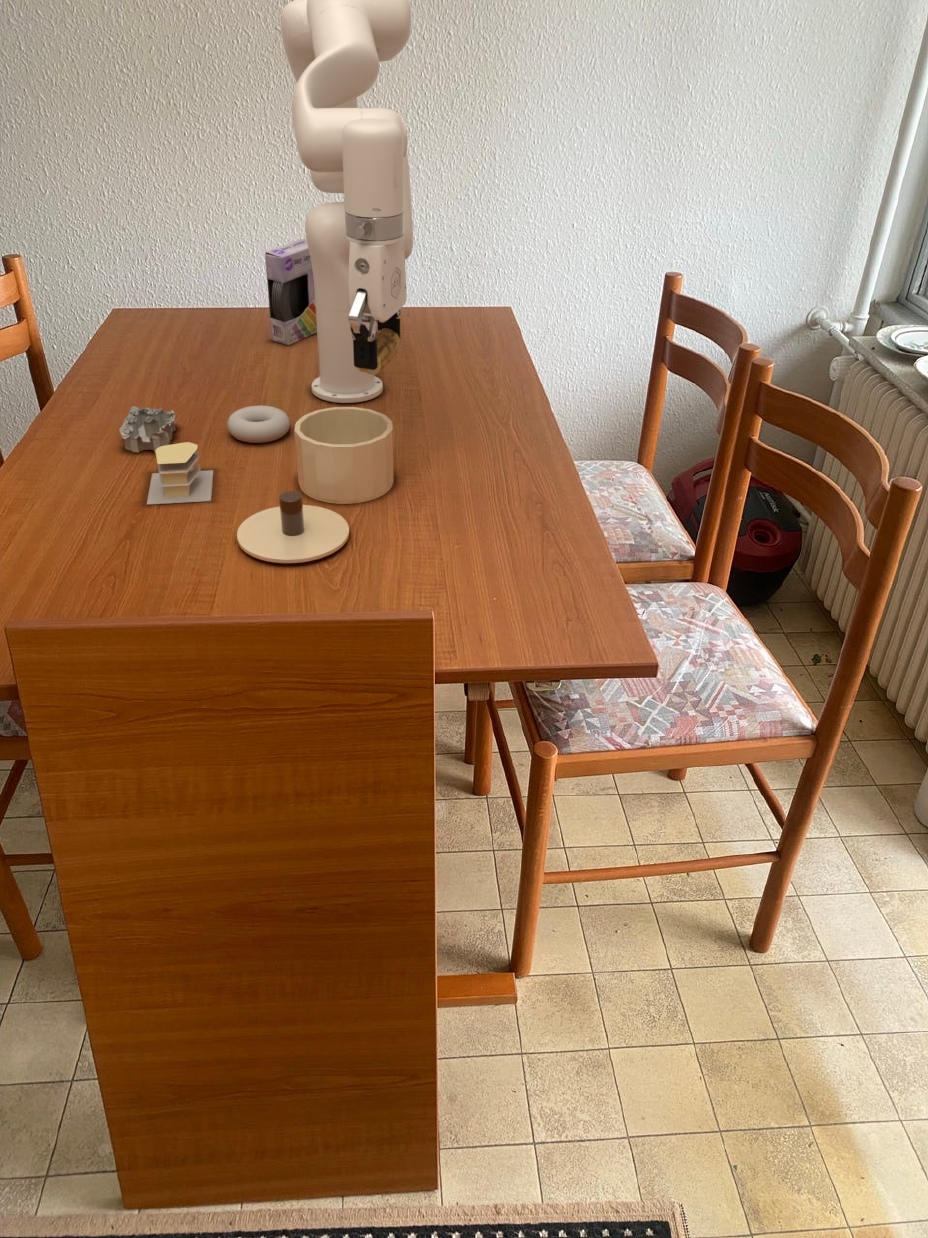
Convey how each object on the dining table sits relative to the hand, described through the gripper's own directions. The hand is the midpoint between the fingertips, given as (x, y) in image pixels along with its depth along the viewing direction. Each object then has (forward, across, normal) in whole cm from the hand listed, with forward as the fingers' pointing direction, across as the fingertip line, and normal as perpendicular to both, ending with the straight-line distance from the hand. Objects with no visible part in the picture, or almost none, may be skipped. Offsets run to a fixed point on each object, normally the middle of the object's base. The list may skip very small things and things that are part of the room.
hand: (377, 355), depth 143 cm
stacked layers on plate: (+20, -11, +27) cm, 35 cm away
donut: (+20, +10, +25) cm, 34 cm away
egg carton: (+20, +2, +40) cm, 45 cm away
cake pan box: (+21, +58, +38) cm, 72 cm away
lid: (+19, -19, +5) cm, 28 cm away
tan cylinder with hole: (+1, 0, 0) cm, 1 cm away
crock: (+20, -1, +5) cm, 20 cm away
